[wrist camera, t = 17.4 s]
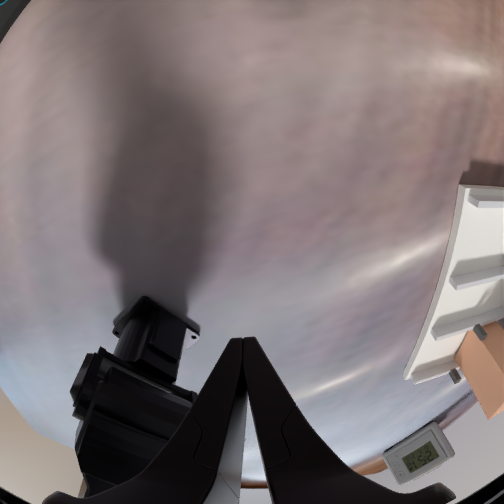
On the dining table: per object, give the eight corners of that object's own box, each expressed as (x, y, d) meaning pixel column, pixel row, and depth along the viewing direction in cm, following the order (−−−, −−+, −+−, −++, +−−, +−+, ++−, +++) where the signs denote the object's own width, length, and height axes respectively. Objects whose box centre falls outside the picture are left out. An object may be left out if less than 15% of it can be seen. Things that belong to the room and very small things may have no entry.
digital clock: (436, 417, 42) (452, 456, 33) (445, 421, 45) (459, 456, 36) (374, 452, 47) (384, 490, 38) (389, 454, 50) (399, 488, 41)
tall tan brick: (454, 358, 29) (487, 419, 19) (470, 326, 26) (513, 390, 16) (477, 349, 29) (511, 404, 19) (494, 317, 26) (535, 375, 16)
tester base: (402, 374, 31) (415, 403, 27) (458, 184, 19) (496, 205, 15) (486, 345, 31) (501, 366, 26) (542, 190, 19) (569, 207, 14)
